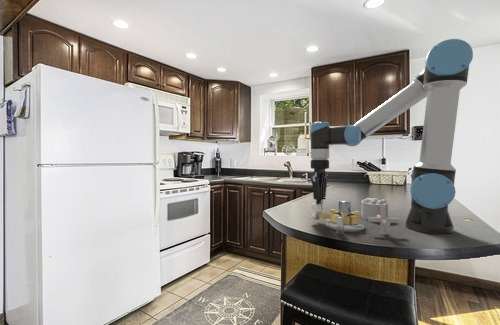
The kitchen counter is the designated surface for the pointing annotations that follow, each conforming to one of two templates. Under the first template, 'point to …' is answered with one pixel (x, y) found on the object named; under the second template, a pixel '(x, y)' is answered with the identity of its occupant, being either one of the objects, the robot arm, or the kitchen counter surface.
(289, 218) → the kitchen counter surface
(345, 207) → the cap flange
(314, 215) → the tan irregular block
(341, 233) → the stop pin
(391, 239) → the kitchen counter surface
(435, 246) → the kitchen counter surface
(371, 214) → the lumpy-topped squat cylinder
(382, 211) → the pipe connector
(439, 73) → the robot arm
